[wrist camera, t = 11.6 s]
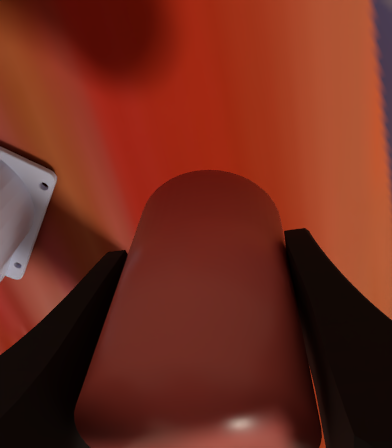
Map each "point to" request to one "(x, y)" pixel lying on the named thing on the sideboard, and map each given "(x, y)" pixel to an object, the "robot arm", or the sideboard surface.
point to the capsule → (202, 329)
